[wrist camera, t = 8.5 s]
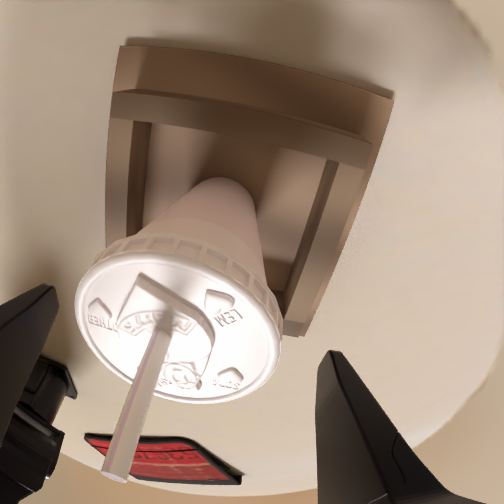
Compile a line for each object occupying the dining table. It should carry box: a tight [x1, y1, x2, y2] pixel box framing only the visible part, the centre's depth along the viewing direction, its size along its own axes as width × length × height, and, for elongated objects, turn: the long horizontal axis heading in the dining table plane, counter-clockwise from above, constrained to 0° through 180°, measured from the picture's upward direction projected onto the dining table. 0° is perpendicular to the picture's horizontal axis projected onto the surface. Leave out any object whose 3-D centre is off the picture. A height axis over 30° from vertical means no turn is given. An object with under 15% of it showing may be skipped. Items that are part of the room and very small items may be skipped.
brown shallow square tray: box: [105, 46, 394, 337], centre depth 16 cm, size 16×14×3 cm
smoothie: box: [75, 177, 283, 482], centre depth 11 cm, size 6×6×14 cm
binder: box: [84, 434, 242, 485], centre depth 38 cm, size 16×2×21 cm
